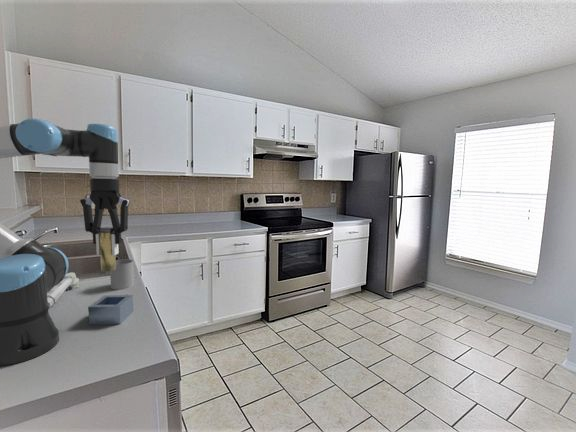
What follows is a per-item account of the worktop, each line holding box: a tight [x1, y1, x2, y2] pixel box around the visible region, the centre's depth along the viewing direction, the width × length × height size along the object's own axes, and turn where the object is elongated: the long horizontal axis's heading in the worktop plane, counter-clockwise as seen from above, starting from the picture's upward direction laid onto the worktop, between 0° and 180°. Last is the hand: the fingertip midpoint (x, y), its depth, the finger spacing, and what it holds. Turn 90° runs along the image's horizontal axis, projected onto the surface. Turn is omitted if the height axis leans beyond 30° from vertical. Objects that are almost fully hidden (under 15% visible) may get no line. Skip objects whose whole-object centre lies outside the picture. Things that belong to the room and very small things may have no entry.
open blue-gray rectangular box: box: [87, 294, 134, 326], centre depth 95 cm, size 9×9×6 cm
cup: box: [109, 258, 135, 290], centre depth 123 cm, size 8×8×10 cm
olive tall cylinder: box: [99, 226, 117, 272], centre depth 93 cm, size 4×4×13 cm
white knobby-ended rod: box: [47, 272, 80, 310], centre depth 111 cm, size 5×7×25 cm
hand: (107, 254), depth 93 cm, fingers closed on olive tall cylinder, 4 cm apart
